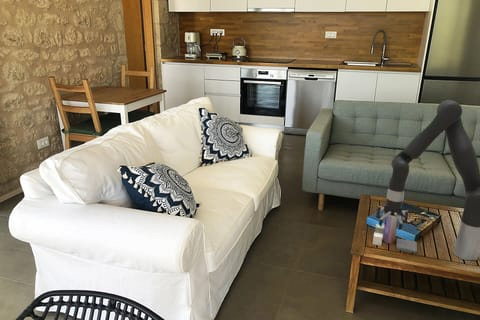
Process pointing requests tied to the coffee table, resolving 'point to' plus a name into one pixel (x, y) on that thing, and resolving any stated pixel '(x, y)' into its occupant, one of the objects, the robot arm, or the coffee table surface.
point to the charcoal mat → (406, 245)
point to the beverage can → (390, 228)
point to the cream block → (377, 239)
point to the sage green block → (379, 229)
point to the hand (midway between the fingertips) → (389, 227)
